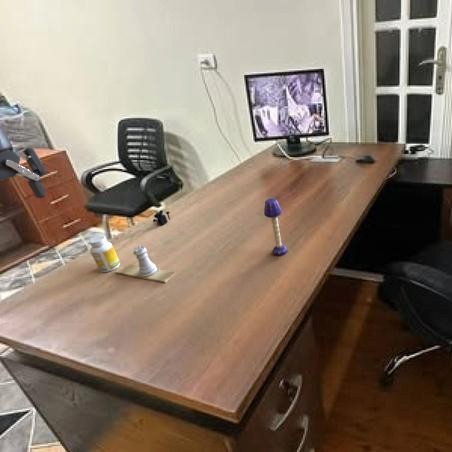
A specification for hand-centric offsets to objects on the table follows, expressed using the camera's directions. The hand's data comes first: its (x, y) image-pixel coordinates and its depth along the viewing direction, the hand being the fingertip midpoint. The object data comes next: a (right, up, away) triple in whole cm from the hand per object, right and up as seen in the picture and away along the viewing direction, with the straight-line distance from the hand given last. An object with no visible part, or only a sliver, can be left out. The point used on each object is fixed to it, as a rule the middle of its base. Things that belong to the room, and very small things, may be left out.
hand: (20, 206), depth 72 cm
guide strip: (+13, -17, +24) cm, 33 cm away
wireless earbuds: (+5, -4, +51) cm, 51 cm away
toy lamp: (+50, -12, +28) cm, 58 cm away
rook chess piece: (+14, -17, +24) cm, 33 cm away
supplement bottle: (0, -16, +29) cm, 33 cm away
